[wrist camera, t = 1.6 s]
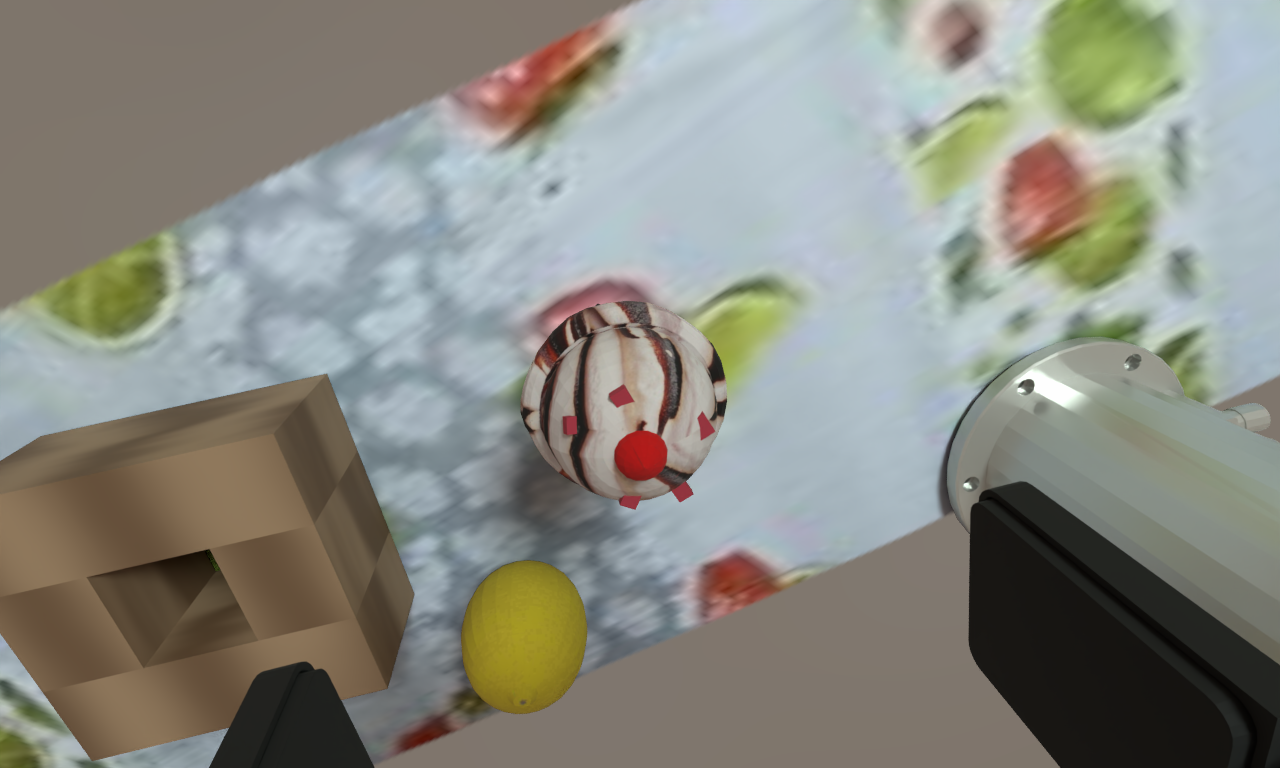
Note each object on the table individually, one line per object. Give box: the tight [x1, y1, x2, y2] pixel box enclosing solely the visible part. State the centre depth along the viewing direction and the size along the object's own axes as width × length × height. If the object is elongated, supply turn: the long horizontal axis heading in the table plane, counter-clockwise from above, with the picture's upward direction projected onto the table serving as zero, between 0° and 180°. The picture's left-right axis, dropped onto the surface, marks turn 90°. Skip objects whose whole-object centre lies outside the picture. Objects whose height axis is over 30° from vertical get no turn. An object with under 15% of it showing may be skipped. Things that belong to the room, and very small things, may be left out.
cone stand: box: [0, 374, 414, 761], centre depth 27 cm, size 12×12×6 cm
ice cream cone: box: [521, 301, 727, 509], centre depth 22 cm, size 6×6×15 cm
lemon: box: [461, 560, 587, 714], centre depth 30 cm, size 6×6×8 cm
